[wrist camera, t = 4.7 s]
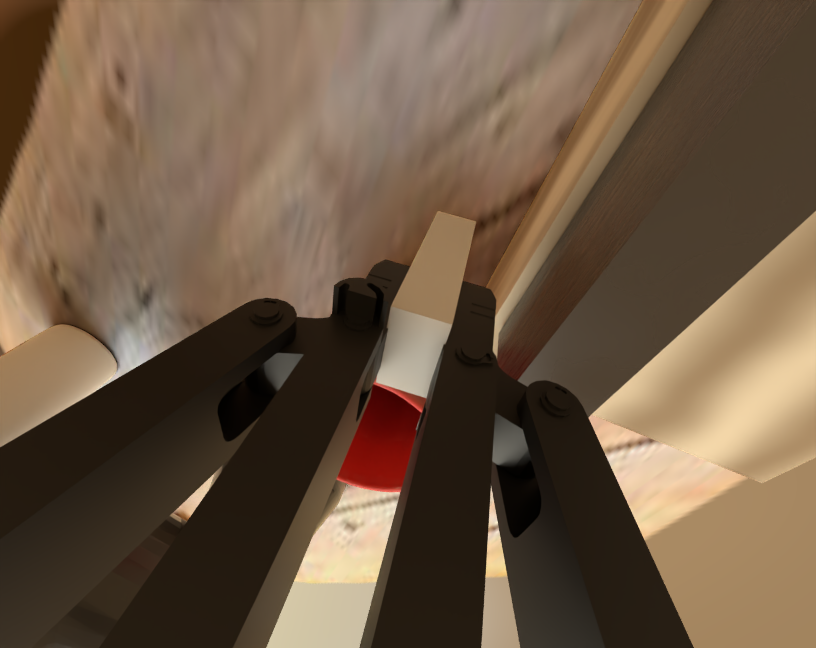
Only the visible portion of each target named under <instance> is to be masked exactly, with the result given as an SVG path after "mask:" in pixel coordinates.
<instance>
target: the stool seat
mask: <svg viewBox="0 0 816 648" xmlns="http://www.w3.org/2000/svg"><path fill="white" fill-rule="evenodd" d="M712 1H713V0H643V1H642V3H641V5H640V7H639V9H638V10H637V12H636V14H635V16H634V18H633V19H632V21H631V23H630V25H629V27H628V29H627V30H626V32H625V34H624V36H623V38H622V40H621V41H620V43H619V45H618V47H617V49H616V50H615V52H614V54H613V56H612V58H611V60H610V61H609V63H608V65H607V67H606V69H605V71H604V72H603V74H602V76H601V78H600V80H599V81H598V83H597V85H596V87H595V89H594V91H593V92H592V94H591V96H590V98H589V100H588V102H587V103H586V105H585V107H584V109H583V111H582V112H581V114H580V116H579V118H578V120H577V122H576V123H575V125H574V127H573V129H572V131H571V133H570V134H569V136H568V138H567V140H566V142H565V143H564V145H563V147H562V149H561V151H560V153H559V154H558V156H557V158H556V160H555V162H554V164H553V165H552V167H551V169H550V171H549V173H548V174H547V176H546V178H545V180H544V182H543V184H542V185H541V187H540V189H539V191H538V193H537V195H536V196H535V198H534V200H533V202H532V204H531V205H530V207H529V209H528V211H527V213H526V215H525V216H524V218H523V220H522V222H521V224H520V226H519V227H518V229H517V231H516V233H515V235H514V236H513V238H512V240H511V242H510V244H509V246H508V247H507V249H506V251H505V253H504V255H503V256H502V258H501V260H500V262H499V264H498V266H497V267H496V269H495V271H494V273H493V275H492V277H491V278H490V280H489V282H488V284H487V286H486V287H485V288H488V289H491V290H492V292H493V294H494V296H495V298H496V300H497V301H496V311H495V312H496V314H495V327H494V340H493V352H494V354H495V355H496V357H497V352H498V335H499V332H500V330H501V329H502V327H503V326H504V324H505V323H506V321H507V319H508V318H509V316H510V315H511V313H512V312H513V310H514V309H515V307H516V306H517V304H518V302H519V301H520V299H521V298H522V296H523V295H524V293H525V292H526V290H527V288H528V287H529V285H530V284H531V282H532V281H533V279H534V278H535V276H536V274H537V273H538V271H539V270H540V268H541V267H542V265H543V264H544V262H545V261H546V259H547V257H548V256H549V254H550V253H551V251H552V250H553V248H554V247H555V245H556V243H557V242H558V240H559V239H560V237H561V236H562V234H563V233H564V231H565V230H566V228H567V226H568V225H569V223H570V222H571V220H572V219H573V217H574V216H575V214H576V212H577V211H578V209H579V208H580V206H581V205H582V203H583V202H584V200H585V198H586V197H587V195H588V194H589V192H590V191H591V189H592V188H593V186H594V185H595V183H596V181H597V180H598V178H599V177H600V175H601V174H602V172H603V171H604V169H605V167H606V166H607V164H608V163H609V161H610V160H611V158H612V157H613V155H614V153H615V152H616V150H617V149H618V147H619V146H620V144H621V143H622V141H623V140H624V138H625V136H626V135H627V133H628V132H629V130H630V129H631V127H632V126H633V124H634V122H635V121H636V119H637V118H638V116H639V115H640V113H641V112H642V110H643V108H644V107H645V105H646V104H647V102H648V101H649V99H650V98H651V96H652V95H653V93H654V91H655V90H656V88H657V87H658V85H659V84H660V82H661V81H662V79H663V77H664V76H665V74H666V73H667V71H668V70H669V68H670V67H671V65H672V64H673V62H674V60H675V59H676V57H677V56H678V54H679V53H680V51H681V50H682V48H683V46H684V45H685V43H686V42H687V40H688V39H689V37H690V36H691V34H692V32H693V31H694V29H695V28H696V26H697V25H698V23H699V22H700V20H701V19H702V17H703V15H704V14H705V12H706V11H707V9H708V8H709V6H710V5H711V3H712ZM591 415H594V416H596V417H599V418H601V419H604V420H606V421H609V422H611V423H614V424H616V425H619V426H621V427H624V428H626V429H629V430H631V431H634V432H636V433H639V434H641V435H644V436H646V437H649V438H651V439H654V440H656V441H659V442H661V443H663V444H666V445H668V446H671V447H673V448H676V449H678V450H681V451H683V452H686V453H688V454H691V455H693V456H696V457H698V458H701V459H703V460H706V461H708V462H711V463H713V464H716V465H718V466H721V467H723V468H726V469H728V470H731V471H733V472H736V473H738V474H741V475H743V476H746V477H748V478H751V479H753V480H756V481H758V482H760V483H763V482H765V481H768V480H770V479H772V478H774V477H776V476H778V475H780V474H782V473H784V472H786V471H788V470H791V469H793V468H795V467H797V466H799V465H801V464H803V463H805V462H807V461H809V460H812V459H814V458H816V211H815V212H814V213H813V214H812V215H811V216H810V217H809V218H808V219H806V220H805V221H804V222H803V223H802V224H801V225H800V226H799V227H798V228H797V229H795V230H794V231H793V232H792V233H791V234H790V235H789V236H788V237H787V238H785V239H784V240H783V241H782V242H781V243H780V244H779V245H778V246H777V247H776V248H774V249H773V250H772V251H771V252H770V253H769V254H768V255H767V256H766V257H765V258H763V259H762V260H761V261H760V262H759V263H758V264H757V265H756V266H755V267H753V268H752V269H751V270H750V271H749V272H748V273H747V274H746V275H745V276H744V277H742V278H741V279H740V280H739V281H738V282H737V283H736V284H735V285H734V286H733V287H731V288H730V289H729V290H728V291H727V292H726V293H725V294H724V295H723V296H721V297H720V298H719V299H718V300H717V301H716V302H715V303H714V304H713V305H712V306H710V307H709V308H708V309H707V310H706V311H705V312H704V313H703V314H702V315H701V316H699V317H698V318H697V319H696V320H695V321H694V322H693V323H692V324H691V325H690V326H688V327H687V328H686V329H685V330H684V331H683V332H682V333H681V334H680V335H678V336H677V337H676V338H675V339H674V340H673V341H672V342H671V343H670V344H669V345H667V346H666V347H665V348H664V349H663V350H662V351H661V352H660V353H659V354H658V355H656V356H655V357H654V358H653V359H652V360H651V361H650V362H649V363H648V364H646V365H645V366H644V367H643V368H642V369H641V370H640V371H639V372H638V373H637V374H635V375H634V376H633V377H632V378H631V379H630V380H629V381H628V382H627V383H626V384H624V385H623V386H622V387H621V388H620V389H619V390H618V391H617V392H616V393H615V394H613V395H612V396H611V397H610V398H609V399H608V400H607V401H606V402H605V403H603V404H602V405H601V406H600V407H599V408H598V409H597V410H596V411H595V412H594V413H592V414H591Z"/></svg>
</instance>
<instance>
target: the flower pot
mask: <svg viewBox="0 0 816 648" xmlns="http://www.w3.org/2000/svg"><path fill="white" fill-rule="evenodd" d="M376 379H377V376H376ZM376 379H375V381H374V383H373V386H372V391H371V397H370V399H369V402H368V404H367V407H366V409H365V411H364V414H363V416H362V419H361V421H360V423H359V426H358V428H357V431H356V433H355V435H354V438H353V440H352V443H351V445H350V447H349V450H348V452H347V455H346V457H345V459H344V462H343V464H342V467H341V469H340V471H339V474H338V476H337V480H339V481H341V482H344V483H347V484H350V485H353V486H356V487H360V488H364V489H369V490H375V491H382V492H401V489H402V485H403V481H404V477H405V474H406V470H407V466H408V462H409V458H410V455H411V451H412V447H413V443H414V439H415V436H416V432H417V430H416V427H417V425H418V422H419V419H420V416H421V413H422V410H423V407H424V404H425V402H426V398H424V397H421V396H418V395H415V394H411V393H408V392H405V391H402V390H399V389H396V388H393V387H389V386H386V385H383V384H380V383H377V382H376Z"/></svg>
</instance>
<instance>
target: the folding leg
mask: <svg viewBox="0 0 816 648" xmlns="http://www.w3.org/2000/svg"><path fill="white" fill-rule="evenodd" d="M815 211H816V0H713V1H712V3H711V5H710V6H709V8H708V9H707V11H706V12H705V14H704V15H703V17H702V19H701V20H700V22H699V23H698V25H697V26H696V28H695V29H694V31H693V32H692V34H691V36H690V37H689V39H688V40H687V42H686V43H685V45H684V46H683V48H682V50H681V51H680V53H679V54H678V56H677V57H676V59H675V60H674V62H673V64H672V65H671V67H670V68H669V70H668V71H667V73H666V74H665V76H664V77H663V79H662V81H661V82H660V84H659V85H658V87H657V88H656V90H655V91H654V93H653V95H652V96H651V98H650V99H649V101H648V102H647V104H646V105H645V107H644V108H643V110H642V112H641V113H640V115H639V116H638V118H637V119H636V121H635V122H634V124H633V126H632V127H631V129H630V130H629V132H628V133H627V135H626V136H625V138H624V140H623V141H622V143H621V144H620V146H619V147H618V149H617V150H616V152H615V153H614V155H613V157H612V158H611V160H610V161H609V163H608V164H607V166H606V167H605V169H604V171H603V172H602V174H601V175H600V177H599V178H598V180H597V181H596V183H595V185H594V186H593V188H592V189H591V191H590V192H589V194H588V195H587V197H586V198H585V200H584V202H583V203H582V205H581V206H580V208H579V209H578V211H577V212H576V214H575V216H574V217H573V219H572V220H571V222H570V223H569V225H568V226H567V228H566V230H565V231H564V233H563V234H562V236H561V237H560V239H559V240H558V242H557V243H556V245H555V247H554V248H553V250H552V251H551V253H550V254H549V256H548V257H547V259H546V261H545V262H544V264H543V265H542V267H541V268H540V270H539V271H538V273H537V274H536V276H535V278H534V279H533V281H532V282H531V284H530V285H529V287H528V288H527V290H526V292H525V293H524V295H523V296H522V298H521V299H520V301H519V302H518V304H517V306H516V307H515V309H514V310H513V312H512V313H511V315H510V316H509V318H508V319H507V321H506V323H505V324H504V326H503V327H502V329H501V330H500V332H499V335H498V352H497V361H498V366H499V367H500V368H501V369H502V370H503V371H504V372H505V373H506V374H507V375H509V376H510V377H512V378H513V379H515V380H517V381H519V382H520V383H522V384H524V385H526V386H527V387H528V386H529V384H531V383H533V382H535V381H542V380H547V381H550V382H554V383H557V384H559V385H561V386H563V387H565V388H566V389H568V390H569V391H570V392H571V393H572V394H574V395H575V396H576V397H577V398H578V400H579V401H580V403H581V404H582V406H583V408H584V410H585V412H586V414H587V416H588V417H589V416H590V415H591V414H592V413H594V412H595V411H596V410H597V409H598V408H599V407H600V406H601V405H602V404H603V403H605V402H606V401H607V400H608V399H609V398H610V397H611V396H612V395H613V394H615V393H616V392H617V391H618V390H619V389H620V388H621V387H622V386H623V385H624V384H626V383H627V382H628V381H629V380H630V379H631V378H632V377H633V376H634V375H635V374H637V373H638V372H639V371H640V370H641V369H642V368H643V367H644V366H645V365H646V364H648V363H649V362H650V361H651V360H652V359H653V358H654V357H655V356H656V355H658V354H659V353H660V352H661V351H662V350H663V349H664V348H665V347H666V346H667V345H669V344H670V343H671V342H672V341H673V340H674V339H675V338H676V337H677V336H678V335H680V334H681V333H682V332H683V331H684V330H685V329H686V328H687V327H688V326H690V325H691V324H692V323H693V322H694V321H695V320H696V319H697V318H698V317H699V316H701V315H702V314H703V313H704V312H705V311H706V310H707V309H708V308H709V307H710V306H712V305H713V304H714V303H715V302H716V301H717V300H718V299H719V298H720V297H721V296H723V295H724V294H725V293H726V292H727V291H728V290H729V289H730V288H731V287H733V286H734V285H735V284H736V283H737V282H738V281H739V280H740V279H741V278H742V277H744V276H745V275H746V274H747V273H748V272H749V271H750V270H751V269H752V268H753V267H755V266H756V265H757V264H758V263H759V262H760V261H761V260H762V259H763V258H765V257H766V256H767V255H768V254H769V253H770V252H771V251H772V250H773V249H774V248H776V247H777V246H778V245H779V244H780V243H781V242H782V241H783V240H784V239H785V238H787V237H788V236H789V235H790V234H791V233H792V232H793V231H794V230H795V229H797V228H798V227H799V226H800V225H801V224H802V223H803V222H804V221H805V220H806V219H808V218H809V217H810V216H811V215H812V214H813V213H814V212H815Z"/></svg>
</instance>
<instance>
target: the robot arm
mask: <svg viewBox="0 0 816 648" xmlns="http://www.w3.org/2000/svg"><path fill="white" fill-rule="evenodd" d="M475 225H476V221H473V220H469V219H466V218H462V217H459V216H455V215H452V214H448V213H444V212H441V211H437V213H436V215H435V217H434V220H433V222H432V224H431V226H430V228H429V230H428V232H427V234H426V236H425V238H424V240H423V242H422V244H421V246H420V248H419V250H418V252H417V254H416V256H415V258H414V260H413V262H412V264H411V266H410V267H409V266H406V265H402V264H399V263H395V262H392V261H388V260H384V261H382V262H380V263H378V264H376V265H374V267H373V268H372V270H371V271H370V273H369V275H368V276H367V277H366V279H363V278H348V279H345V280H342V281H340V282H338V283H337V284H336V285H334V293H333V308H332V314H331V316H330V317H328V318H301V317H297V314H296V312H295V310H294V307H292V306H291V305H290V304H288V303H287V302H285V301H282V300H279V299H271V298H263V299H256V300H253V301H250V302H248V303H246V304H244V305H242V306H240V307H239V308H237V309H235V310H233V311H232V312H230V313H228V314H227V315H225V316H223V317H222V318H220V319H218V320H216V321H215V322H213V323H211V324H210V325H208V326H206V327H204V328H203V329H201V330H199V331H198V332H196V333H194V334H193V335H191V336H189V337H187V338H186V339H184V340H182V341H181V342H179V343H177V344H175V345H174V346H172V347H170V348H169V349H167V350H165V351H163V352H162V353H160V354H158V355H157V356H155V357H153V358H152V359H150V360H148V361H146V362H145V363H143V364H141V365H140V366H138V367H136V368H134V369H133V370H131V371H129V372H128V373H126V374H124V375H123V376H121V377H119V378H117V379H116V380H114V381H112V382H111V383H109V384H107V385H105V386H104V387H102V388H100V389H99V390H97V391H95V392H94V393H92V394H90V395H88V396H87V397H85V398H83V399H82V400H80V401H78V402H76V403H75V404H73V405H71V406H70V407H68V408H66V409H65V410H63V411H61V412H59V413H58V414H56V415H54V416H53V417H51V418H49V419H47V420H46V421H44V422H42V423H41V424H39V425H37V426H36V427H34V428H32V429H30V430H29V431H27V432H25V433H24V434H22V435H20V436H18V437H17V438H15V439H13V440H12V441H10V442H8V443H6V444H5V445H3V446H1V447H0V648H266V647H267V644H268V642H269V639H270V637H271V634H272V632H273V630H274V627H275V625H276V623H277V620H278V618H279V615H280V613H281V610H282V608H283V606H284V603H285V601H286V598H287V596H288V594H289V591H290V589H291V586H292V584H293V582H294V579H295V577H296V575H297V572H298V570H299V567H300V565H301V563H302V560H303V558H304V555H305V553H306V551H307V548H308V546H309V543H310V541H311V539H312V537H313V535H314V534H315V533H316V531H317V530H318V529H319V528H320V526H321V525H322V524H323V523H324V521H325V520H326V519H327V518H328V516H329V515H330V514H331V512H332V511H333V510H334V509H335V507H336V506H337V505H338V503H339V501H340V499H341V496H342V494H343V491H344V489H345V486H346V483H344V482H341V481H339V480H337V476H338V474H339V471H340V469H341V467H342V464H343V462H344V459H345V457H346V455H347V452H348V450H349V447H350V445H351V443H352V440H353V438H354V435H355V433H356V431H357V428H358V426H359V423H360V421H361V419H362V416H363V414H364V411H365V409H366V407H367V404H368V402H369V399H370V397H371V391H372V386H373V383H374V381H375V379H376V376H377V379H376V382H377V383H380V384H383V385H386V386H389V387H393V388H396V389H399V390H402V391H405V392H408V393H411V394H415V395H418V396H421V397H424V398H426V402H425V404H424V407H423V410H422V413H421V416H420V419H419V422H418V425H417V427H416V430H417V432H416V436H415V439H414V443H413V447H412V451H411V455H410V458H409V462H408V466H407V470H406V474H405V477H404V481H403V485H402V489H401V492H400V496H399V500H398V504H397V508H396V511H395V515H394V519H393V523H392V526H391V530H390V534H389V538H388V542H387V545H386V549H385V553H384V557H383V561H382V564H381V568H380V572H379V576H378V579H377V583H376V587H375V591H374V595H373V599H372V602H371V606H370V610H369V614H368V618H367V621H366V625H365V629H364V633H363V637H362V640H361V644H360V648H481V641H482V625H483V608H484V591H485V575H486V558H487V541H488V524H489V507H490V491H491V487H492V492H493V498H494V503H495V509H496V514H497V520H498V526H499V531H500V537H501V542H502V548H503V553H504V559H505V564H506V570H507V576H508V581H509V587H510V592H511V597H512V603H513V609H514V614H515V619H516V625H517V631H518V637H519V642H520V648H694V647H693V645H692V643H691V641H690V639H689V637H688V634H687V632H686V630H685V628H684V625H683V623H682V621H681V619H680V617H679V615H678V612H677V610H676V608H675V606H674V604H673V602H672V599H671V597H670V595H669V593H668V591H667V588H666V586H665V584H664V582H663V580H662V578H661V575H660V573H659V571H658V569H657V567H656V564H655V562H654V560H653V558H652V556H651V554H650V552H649V549H648V547H647V545H646V543H645V540H644V538H643V536H642V534H641V532H640V530H639V527H638V525H637V523H636V521H635V519H634V517H633V514H632V512H631V510H630V508H629V506H628V503H627V501H626V499H625V497H624V495H623V493H622V490H621V488H620V486H619V484H618V482H617V479H616V477H615V475H614V473H613V471H612V469H611V466H610V464H609V462H608V460H607V458H606V456H605V453H604V451H603V449H602V447H601V445H600V442H599V440H598V438H597V436H596V434H595V432H594V429H593V427H592V425H591V423H590V421H589V418H588V416H587V414H586V412H585V410H584V408H583V406H582V404H581V403H580V401H579V400H578V398H577V397H576V396H575V395H574V394H572V393H571V392H570V391H569V390H568V389H566V388H565V387H563V386H561V385H559V384H557V383H554V382H550V381H547V380H542V381H535V382H533V383H531V384H529V386H528V387H527V386H526V385H524V384H522V383H520V382H519V381H517V380H515V379H513V378H512V377H510V376H509V375H507V374H506V373H505V372H504V371H503V370H502V369H501V368H500V367H499V366H498V361H497V357H496V355H495V354H494V352H493V340H494V327H495V314H496V312H495V311H496V301H497V300H496V298H495V296H494V294H493V292H492V290H491V289H488V288H485V287H481V286H478V285H474V284H471V283H468V282H464V281H463V277H464V272H465V268H466V264H467V259H468V255H469V251H470V246H471V242H472V238H473V233H474V229H475ZM214 473H215V474H214ZM213 474H214V477H213V480H212V483H211V486H210V489H209V491H208V492H207V494H206V495H205V497H204V498H203V499H202V501H201V502H200V504H199V505H198V507H197V508H196V509H195V511H194V512H193V514H192V515H191V517H190V518H189V519H188V521H187V522H186V521H185V520H183V519H181V518H180V517H178V516H177V515H175V514H173V512H174V511H175V510H176V509H177V508H178V507H179V506H180V505H181V504H182V503H183V502H185V501H186V500H187V499H188V498H189V497H190V496H191V495H192V494H193V493H194V492H195V491H196V490H197V489H198V488H199V487H200V486H201V485H202V484H203V483H204V482H206V481H207V480H208V479H209V478H210V477H211V476H212V475H213Z"/></svg>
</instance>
